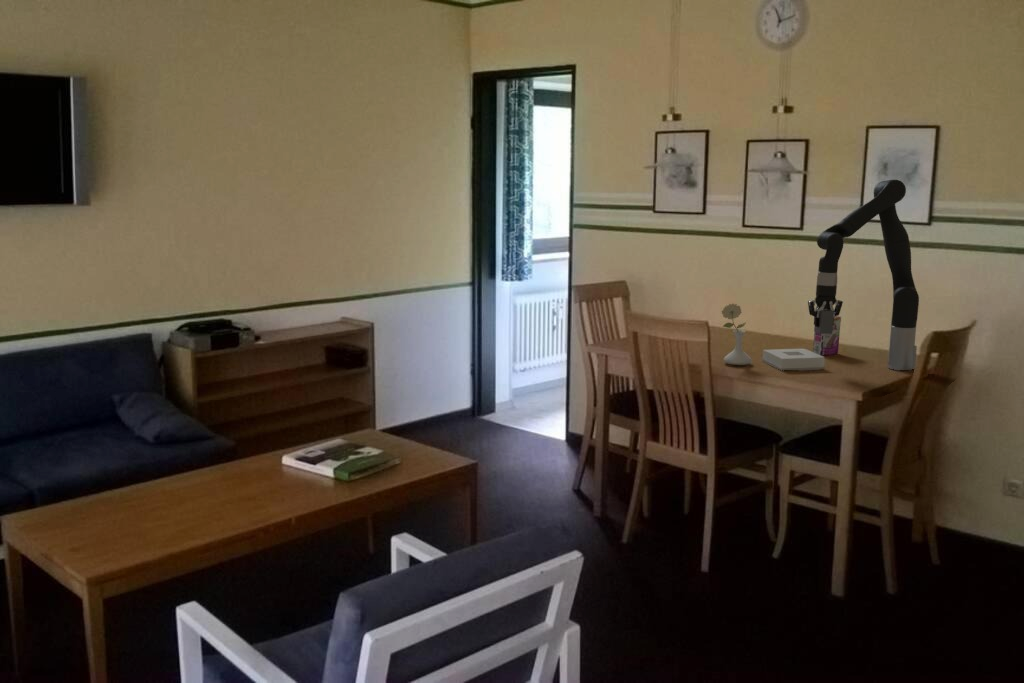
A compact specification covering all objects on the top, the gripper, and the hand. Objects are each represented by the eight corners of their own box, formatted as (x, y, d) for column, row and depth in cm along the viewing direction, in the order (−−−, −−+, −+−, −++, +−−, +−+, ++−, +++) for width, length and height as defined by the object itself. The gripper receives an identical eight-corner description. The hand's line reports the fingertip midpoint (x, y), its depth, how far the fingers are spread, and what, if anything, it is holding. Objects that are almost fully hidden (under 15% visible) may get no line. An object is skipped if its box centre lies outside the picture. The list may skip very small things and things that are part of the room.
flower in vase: (753, 362, 386) (756, 302, 382) (750, 368, 376) (753, 306, 371) (721, 360, 391) (723, 301, 386) (717, 365, 380) (720, 304, 375)
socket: (803, 360, 391) (804, 348, 390) (824, 369, 373) (824, 357, 372) (762, 361, 388) (763, 349, 387) (781, 371, 371) (782, 358, 370)
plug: (825, 331, 372) (827, 308, 370) (832, 333, 367) (833, 310, 365) (814, 331, 371) (815, 308, 369) (820, 333, 366) (822, 311, 364)
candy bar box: (821, 356, 398) (824, 318, 395) (812, 354, 402) (814, 317, 399) (839, 353, 404) (841, 316, 401) (829, 351, 408) (832, 314, 405)
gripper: (838, 282, 370) (835, 324, 373) (805, 282, 367) (801, 325, 371) (848, 284, 363) (845, 327, 366) (814, 285, 360) (810, 328, 363)
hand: (823, 326), depth 368 cm, fingers closed on plug, 5 cm apart
